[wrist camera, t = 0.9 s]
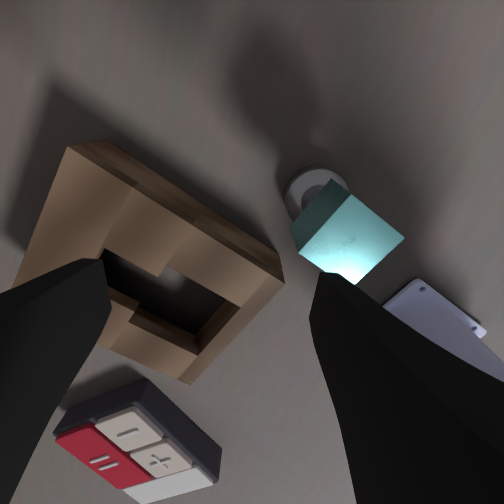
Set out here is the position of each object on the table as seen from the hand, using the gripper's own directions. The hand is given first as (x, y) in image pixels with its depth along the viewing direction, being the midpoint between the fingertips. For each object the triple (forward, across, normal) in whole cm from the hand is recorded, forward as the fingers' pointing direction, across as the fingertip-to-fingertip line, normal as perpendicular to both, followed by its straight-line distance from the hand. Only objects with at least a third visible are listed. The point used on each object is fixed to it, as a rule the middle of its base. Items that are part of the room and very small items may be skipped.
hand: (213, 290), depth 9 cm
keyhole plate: (+11, +5, +6) cm, 13 cm away
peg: (+11, -6, -1) cm, 12 cm away
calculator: (+11, +8, +28) cm, 32 cm away
